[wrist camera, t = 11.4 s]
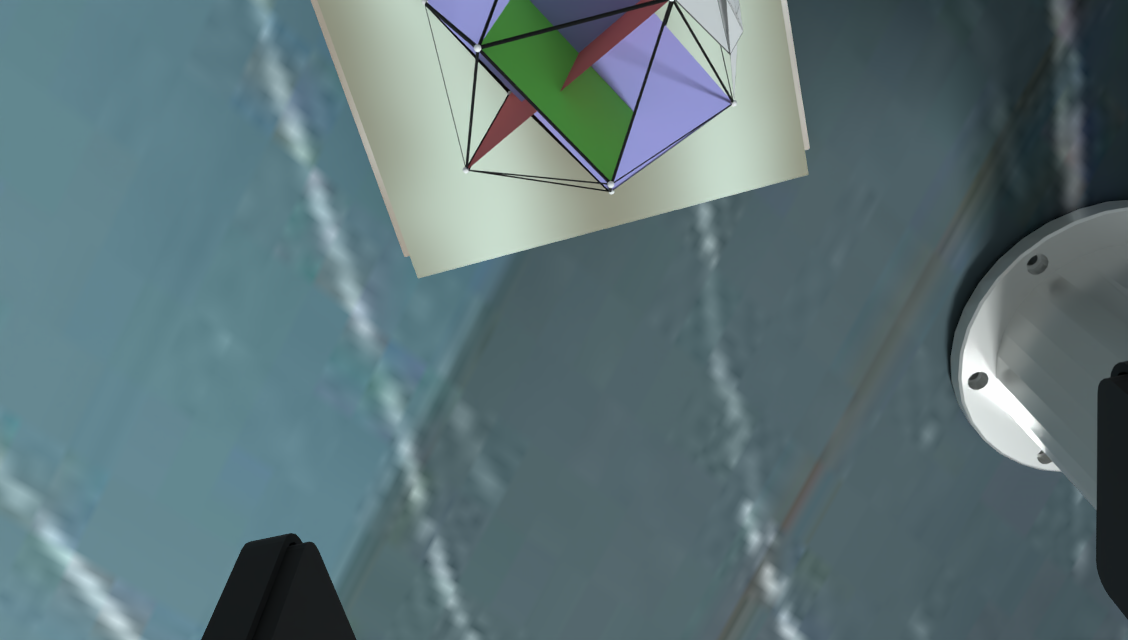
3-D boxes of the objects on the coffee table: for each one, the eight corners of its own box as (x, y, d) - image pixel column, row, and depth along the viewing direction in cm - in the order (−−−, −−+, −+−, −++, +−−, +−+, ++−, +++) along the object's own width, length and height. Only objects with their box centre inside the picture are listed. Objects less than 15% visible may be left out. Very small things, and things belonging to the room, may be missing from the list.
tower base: (725, -339, 30) (804, -418, 22) (801, 140, 37) (883, 219, 29) (249, -194, 31) (152, -215, 23) (407, 245, 38) (377, 351, 30)
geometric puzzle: (523, 272, 27) (693, 238, 20) (332, 95, 24) (447, -16, 17) (655, 94, 29) (850, 7, 22) (494, -83, 27) (654, -245, 20)
